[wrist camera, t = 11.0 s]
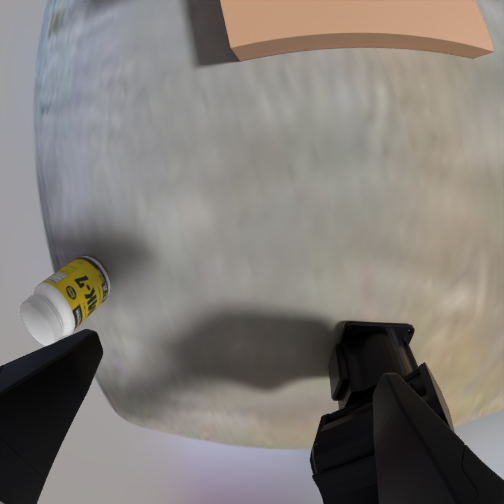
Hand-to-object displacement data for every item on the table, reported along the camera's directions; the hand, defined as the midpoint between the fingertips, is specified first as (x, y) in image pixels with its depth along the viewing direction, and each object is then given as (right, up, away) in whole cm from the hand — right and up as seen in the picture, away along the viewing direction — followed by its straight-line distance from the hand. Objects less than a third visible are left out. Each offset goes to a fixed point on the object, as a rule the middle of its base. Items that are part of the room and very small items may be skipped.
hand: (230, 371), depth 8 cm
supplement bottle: (-14, +1, +16) cm, 22 cm away
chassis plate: (+7, +25, +3) cm, 26 cm away
